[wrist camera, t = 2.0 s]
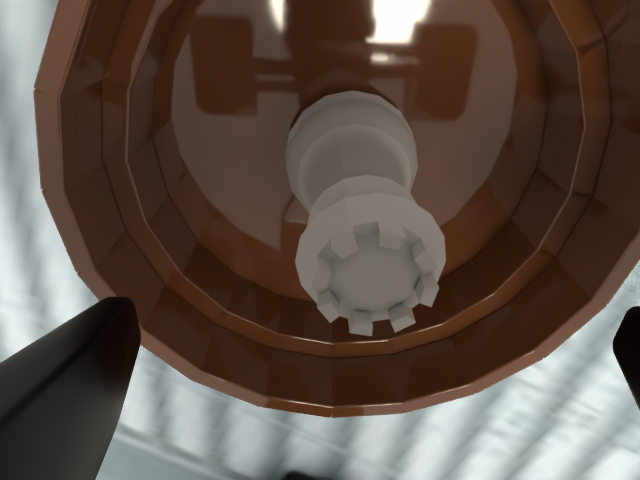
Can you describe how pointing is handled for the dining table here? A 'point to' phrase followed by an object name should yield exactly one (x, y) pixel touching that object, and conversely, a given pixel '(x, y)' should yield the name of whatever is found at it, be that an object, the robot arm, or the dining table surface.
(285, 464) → the dining table surface
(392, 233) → the rook chess piece
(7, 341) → the dining table surface
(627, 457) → the dining table surface
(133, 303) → the robot arm
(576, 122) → the bowl
